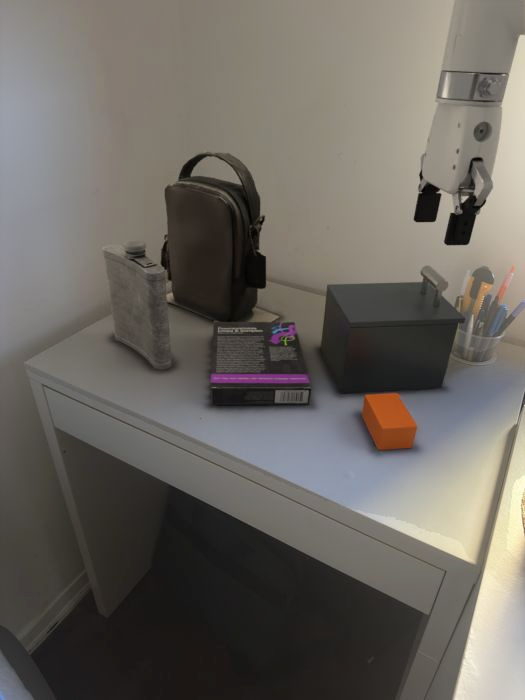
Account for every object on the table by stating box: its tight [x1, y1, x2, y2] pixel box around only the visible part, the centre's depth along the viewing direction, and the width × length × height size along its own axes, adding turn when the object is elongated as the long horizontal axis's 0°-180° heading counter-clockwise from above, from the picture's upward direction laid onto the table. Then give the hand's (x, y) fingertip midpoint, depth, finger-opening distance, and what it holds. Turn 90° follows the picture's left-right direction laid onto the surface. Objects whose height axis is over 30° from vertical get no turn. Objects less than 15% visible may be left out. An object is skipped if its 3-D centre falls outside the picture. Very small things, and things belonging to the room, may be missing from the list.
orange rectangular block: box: [361, 392, 418, 451], centre depth 64 cm, size 7×4×4 cm, turn 7°
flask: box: [102, 239, 173, 371], centre depth 77 cm, size 4×14×18 cm, turn 44°
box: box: [209, 320, 312, 405], centre depth 77 cm, size 14×4×20 cm
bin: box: [320, 289, 459, 394], centre depth 76 cm, size 16×13×11 cm
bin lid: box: [326, 265, 466, 328], centre depth 72 cm, size 16×13×5 cm
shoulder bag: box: [159, 150, 280, 322], centre depth 88 cm, size 23×9×28 cm, turn 53°
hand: (439, 232), depth 67 cm, fingers open, 9 cm apart
